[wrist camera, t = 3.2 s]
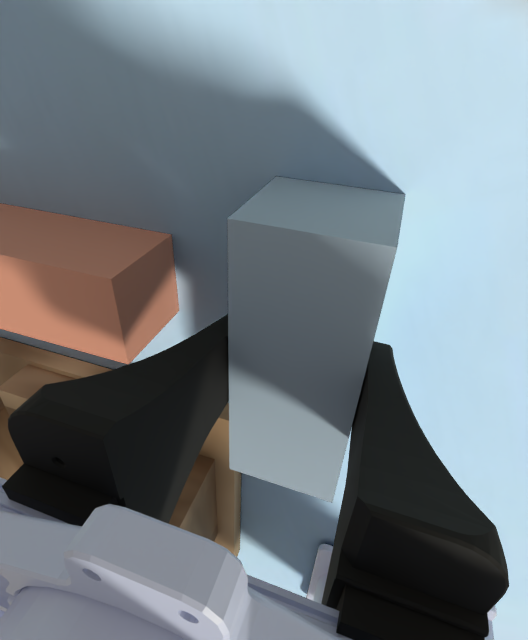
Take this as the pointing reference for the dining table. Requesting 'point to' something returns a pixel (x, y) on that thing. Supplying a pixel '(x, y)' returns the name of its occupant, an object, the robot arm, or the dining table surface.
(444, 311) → the dining table surface
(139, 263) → the terracotta rectangular bar
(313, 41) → the dining table surface
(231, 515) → the jig
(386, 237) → the pale grey pillar block
